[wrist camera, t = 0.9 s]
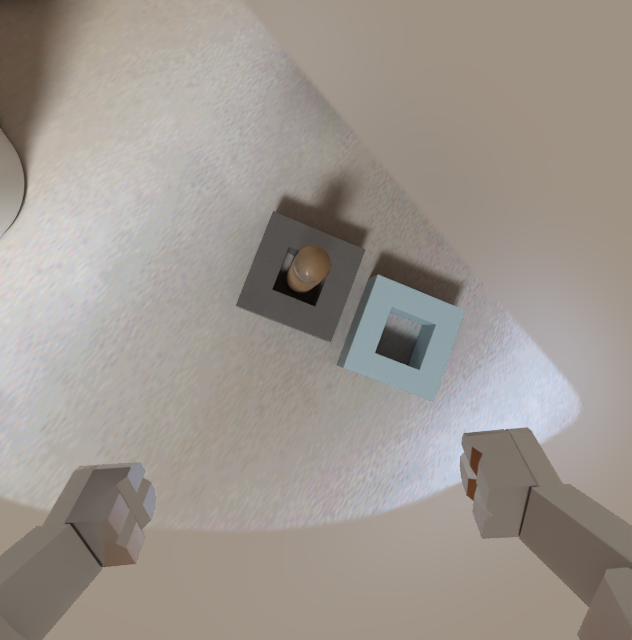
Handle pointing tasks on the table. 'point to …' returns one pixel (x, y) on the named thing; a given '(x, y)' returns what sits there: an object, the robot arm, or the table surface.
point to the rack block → (430, 345)
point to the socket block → (291, 311)
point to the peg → (307, 269)
